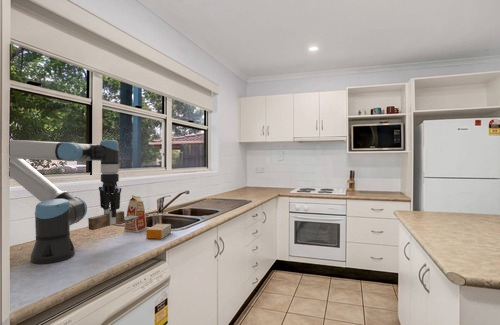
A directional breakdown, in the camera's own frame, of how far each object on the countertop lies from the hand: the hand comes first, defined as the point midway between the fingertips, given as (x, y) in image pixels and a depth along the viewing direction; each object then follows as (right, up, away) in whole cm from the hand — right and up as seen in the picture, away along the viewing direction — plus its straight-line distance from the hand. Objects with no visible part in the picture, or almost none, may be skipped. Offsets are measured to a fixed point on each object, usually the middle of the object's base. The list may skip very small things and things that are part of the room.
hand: (110, 223), depth 135 cm
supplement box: (+16, -8, +11) cm, 21 cm away
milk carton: (0, -10, +30) cm, 32 cm away
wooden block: (+1, 0, +2) cm, 2 cm away
